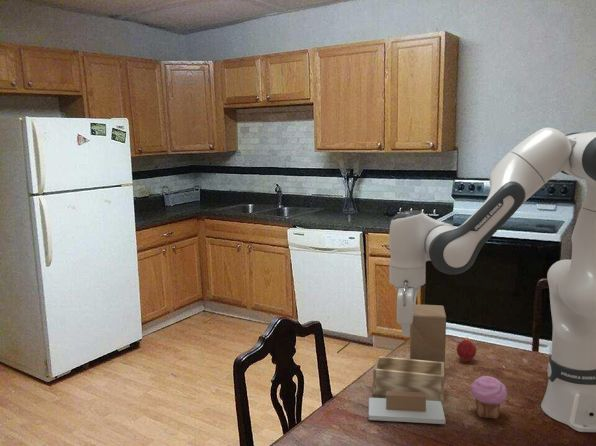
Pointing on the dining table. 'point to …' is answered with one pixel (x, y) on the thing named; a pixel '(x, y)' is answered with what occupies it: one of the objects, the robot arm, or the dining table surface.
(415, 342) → the wooden block
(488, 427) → the dining table surface
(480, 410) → the cupcake
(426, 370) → the light wooden open box
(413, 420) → the lid
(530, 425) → the dining table surface
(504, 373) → the dining table surface
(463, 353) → the onion
